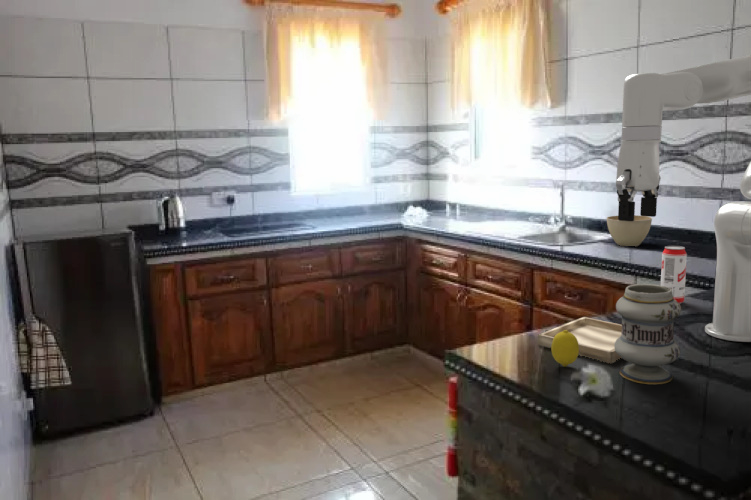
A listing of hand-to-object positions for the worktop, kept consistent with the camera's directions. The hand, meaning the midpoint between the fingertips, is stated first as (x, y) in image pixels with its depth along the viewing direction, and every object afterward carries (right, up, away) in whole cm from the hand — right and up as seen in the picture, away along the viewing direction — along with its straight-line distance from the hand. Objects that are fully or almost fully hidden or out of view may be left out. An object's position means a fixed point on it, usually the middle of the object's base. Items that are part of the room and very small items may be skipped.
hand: (637, 218), depth 130 cm
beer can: (+30, -22, +47) cm, 59 cm away
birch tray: (-4, -28, +14) cm, 32 cm away
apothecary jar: (-1, -32, -6) cm, 33 cm away
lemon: (-15, -31, 0) cm, 35 cm away
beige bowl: (+55, -5, +139) cm, 150 cm away
